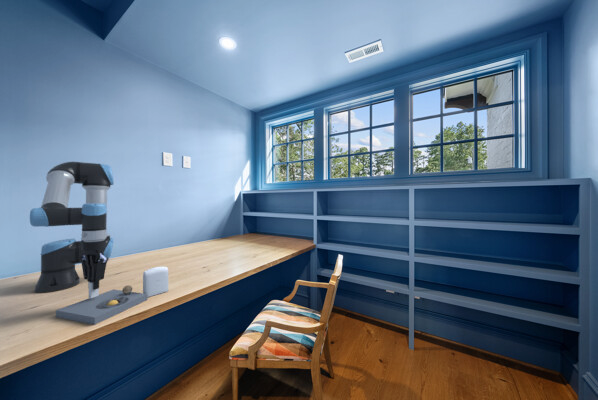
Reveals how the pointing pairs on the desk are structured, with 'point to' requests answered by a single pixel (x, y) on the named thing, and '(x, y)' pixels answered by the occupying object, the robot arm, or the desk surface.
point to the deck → (101, 306)
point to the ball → (112, 302)
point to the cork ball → (127, 289)
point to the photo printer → (155, 281)
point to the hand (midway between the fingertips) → (93, 296)
